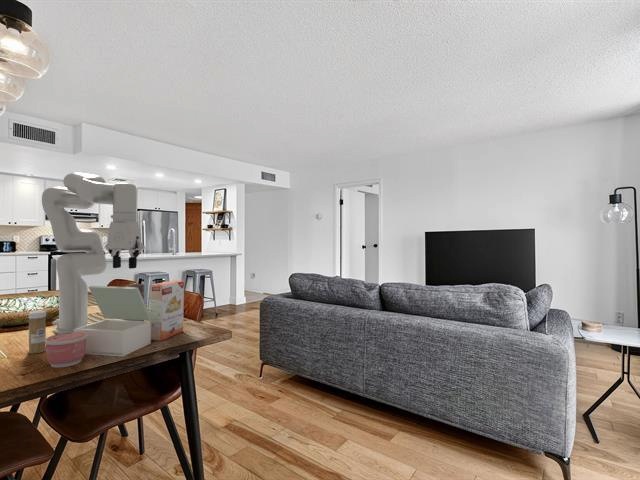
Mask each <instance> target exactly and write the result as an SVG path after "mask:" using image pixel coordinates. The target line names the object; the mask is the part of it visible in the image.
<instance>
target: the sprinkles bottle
mask: <svg viewBox="0 0 640 480" xmlns="http://www.w3.org/2000/svg"><path fill="white" fill-rule="evenodd" d="M46 319H47V311H46V310H35V311H30V312H28V354H31V355H32V354H33V355H34V354H40V353H43V352H46V344H45V339H46V338H47V336H46V335H47V332H46V326H47V325H46Z"/></svg>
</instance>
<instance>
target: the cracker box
mask: <svg viewBox="0 0 640 480" xmlns="http://www.w3.org/2000/svg"><path fill="white" fill-rule="evenodd" d="M184 293H185V281H183V280H170V281H164V282H159V283H153V284H149V297H148V298H149V301H148V302H149V304H148V312H149V314H150V317H151V320H150V321H151V341H158V342H162V341H165V340H167V339H169V338H171V337H173V336H175V335H176V336H177V334H181V333H182V332H183V331H184V302H185V301H184V298H185V297H184V295H185V294H184Z"/></svg>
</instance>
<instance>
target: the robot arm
mask: <svg viewBox="0 0 640 480" xmlns="http://www.w3.org/2000/svg"><path fill="white" fill-rule="evenodd" d="M62 183H63V185H64V187H63V186H62V187H61V186H51V187H47V188H45V189H44V191H43V192H42V195H41V205H42V206H41V207H42V209H43V211H44V213H45V215H46V217H47V218H48V220H49V222H50V226H51V230H52V234H53V239H54V243H55V247H56V248H57V250H58V251H60V252H63V253H65V254H61V255H60V256H59V257H58V258H57V259H56V262H55V266H56V267H55V268H56V273H57V277H58V278H57V279H58V314H59V315H58V318H56V319H55V320H53V321H52V323H51V324H52V325H55V326H56V328H54V330H53V333H55V334H56V335H58V334H63V333H71V332H74V329H76V328H79V327H82V326H86V325H89V324H90V323H88V293H89V292H88V289H89V288H88V285H87V282H86V281H85V280H84V279H83V278H82V277H84V276H85V277H86V276H94V275H100V274H103V273H104V272H105V271H106V268H107V259H106V255H105V251H104V248H105V250H107V252H108V253H109V254H110V256H111V257H112V268H113V269H120V268H121V267H122V257H121V256H120V255H121V251H122V250H128V253H129V257H128V268H129V270H130V269H136V268H137V265H138V264H137V263H138V260H137V259H138V257H139V255H140V254H141V253H142V251H144V249H146V247H145V245H144V244H143V243H142V242H141V231H140V230H141V229H140V224H139V222H138V216H137V215H138V213H137V212H138V209H137V207H138V205H137V203H138V202H137V201H138V197H137V196H138V195H137V194H138V189H137V186H136V185H135V184H132V183H128V182H116V183H114V184H111V183H107V182H106V180H105V179H104V177H102V176H100V175H96V174H92V173H91V174H90V173H83V172H70V173H67V174H66V175H65V176H64V178H63V182H62ZM95 204H99V205H111V206H112V214H111V215H110V218H111V219H112V221H110V223H109V227H108V233H107V243H106V245H105V246H104V248H103V244H102V240H101V237H100V235H99V234H98V232H96V231H95V230H92V229H79V227H78V226H77V222H76V219H75V217H74V216H73V215H72V214H71V213H70V212H69V211H67V210H66V208H67V209H77V210H87V209H91V208H92V207H93V206H95Z"/></svg>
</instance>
